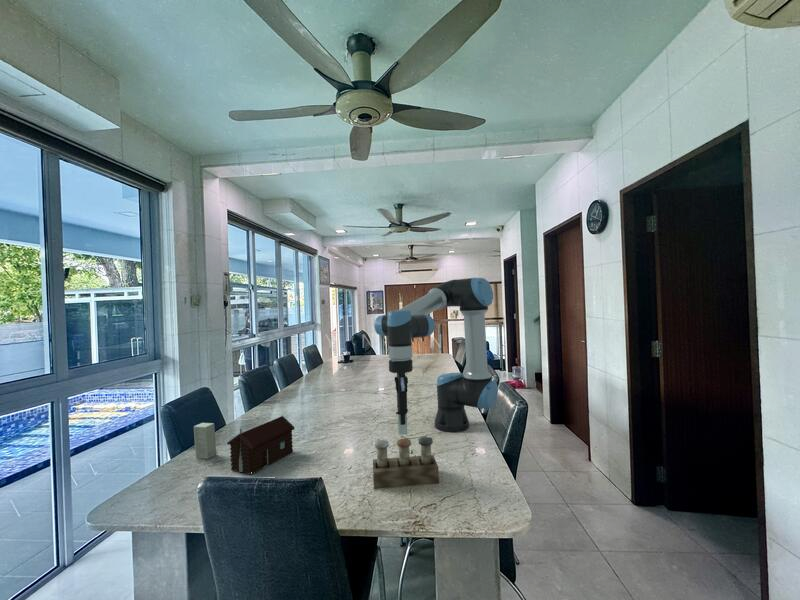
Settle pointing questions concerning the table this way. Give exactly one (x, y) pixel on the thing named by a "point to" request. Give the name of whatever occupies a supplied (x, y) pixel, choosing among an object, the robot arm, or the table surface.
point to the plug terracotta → (404, 451)
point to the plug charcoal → (426, 450)
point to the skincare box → (204, 440)
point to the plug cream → (382, 453)
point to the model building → (261, 445)
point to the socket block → (405, 473)
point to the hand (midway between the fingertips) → (402, 433)
